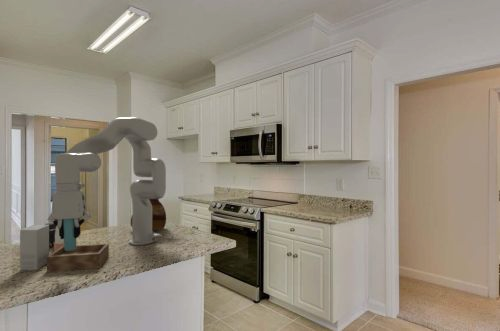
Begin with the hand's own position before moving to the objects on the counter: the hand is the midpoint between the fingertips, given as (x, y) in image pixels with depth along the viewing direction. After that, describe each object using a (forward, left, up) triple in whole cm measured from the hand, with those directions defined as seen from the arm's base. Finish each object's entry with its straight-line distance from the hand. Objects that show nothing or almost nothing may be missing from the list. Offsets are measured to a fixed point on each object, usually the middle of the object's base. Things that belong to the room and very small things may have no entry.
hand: (70, 237), depth 107 cm
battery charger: (+21, -39, -14) cm, 47 cm away
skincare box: (+16, -11, -14) cm, 24 cm away
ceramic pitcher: (-20, -65, -14) cm, 70 cm away
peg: (0, 0, -4) cm, 4 cm away
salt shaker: (+14, -33, -14) cm, 39 cm away
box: (0, -11, -13) cm, 18 cm away
